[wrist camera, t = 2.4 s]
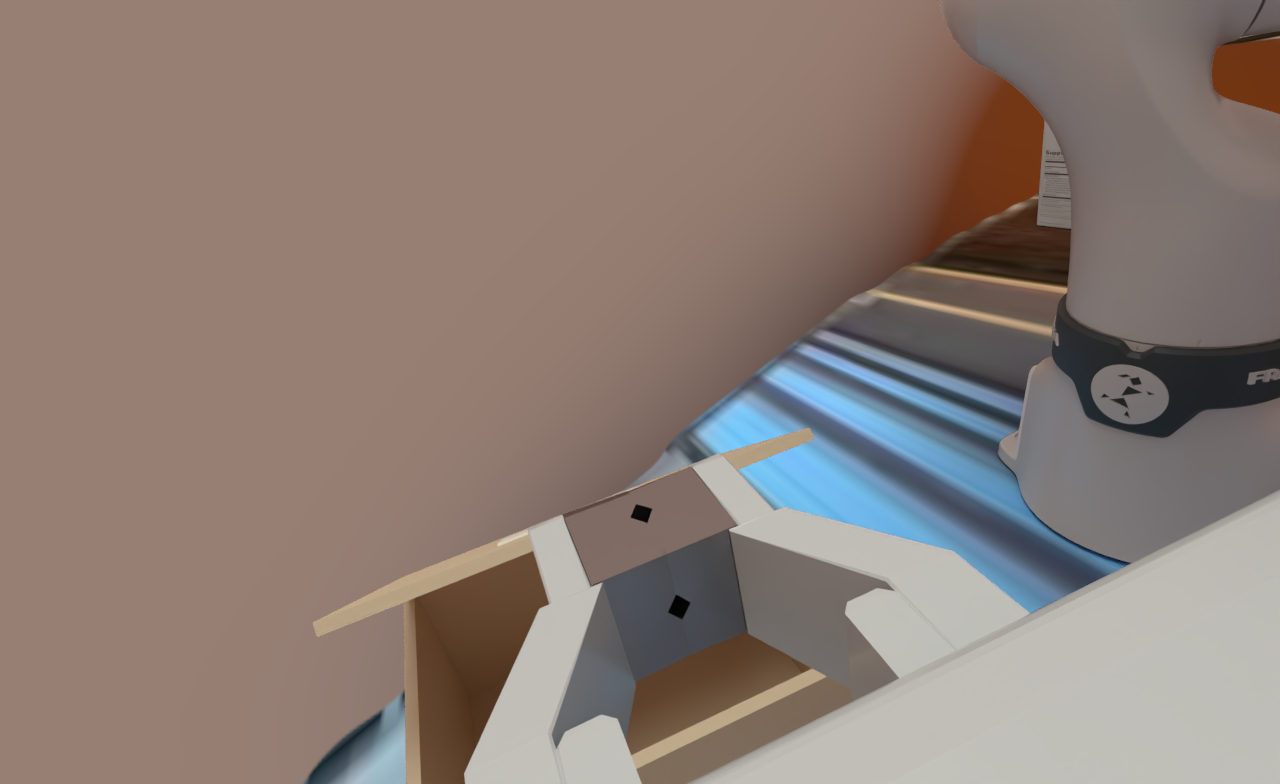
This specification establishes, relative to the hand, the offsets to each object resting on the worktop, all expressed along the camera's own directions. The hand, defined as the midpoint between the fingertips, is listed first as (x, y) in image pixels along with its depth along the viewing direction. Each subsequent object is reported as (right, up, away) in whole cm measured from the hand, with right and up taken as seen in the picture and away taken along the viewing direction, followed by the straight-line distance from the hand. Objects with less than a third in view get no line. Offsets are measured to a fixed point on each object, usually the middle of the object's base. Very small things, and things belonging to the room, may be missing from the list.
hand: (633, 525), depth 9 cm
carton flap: (-3, -4, +22) cm, 22 cm away
